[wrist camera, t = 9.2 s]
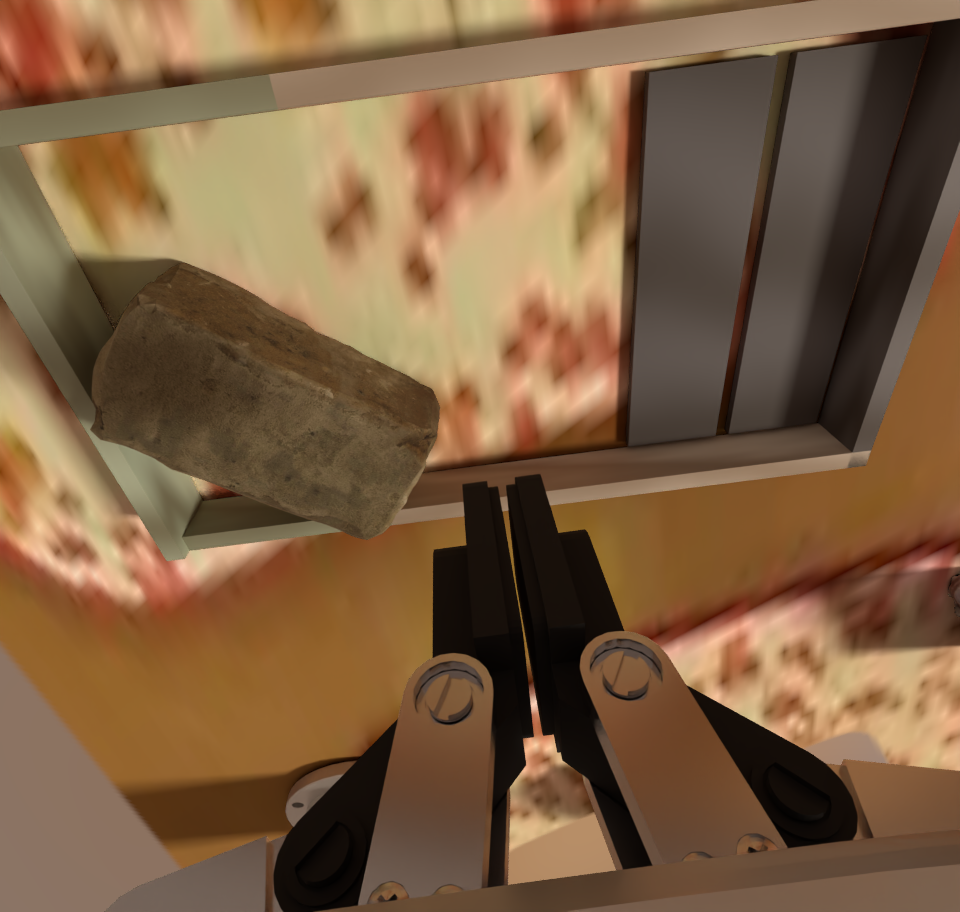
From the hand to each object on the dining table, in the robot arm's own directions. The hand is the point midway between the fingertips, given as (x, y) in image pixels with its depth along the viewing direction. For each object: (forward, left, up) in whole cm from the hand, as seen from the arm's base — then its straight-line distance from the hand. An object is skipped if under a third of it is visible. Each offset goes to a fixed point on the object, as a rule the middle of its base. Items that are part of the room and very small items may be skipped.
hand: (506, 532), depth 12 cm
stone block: (-1, +8, -12) cm, 14 cm away
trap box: (+1, -1, -12) cm, 12 cm away
